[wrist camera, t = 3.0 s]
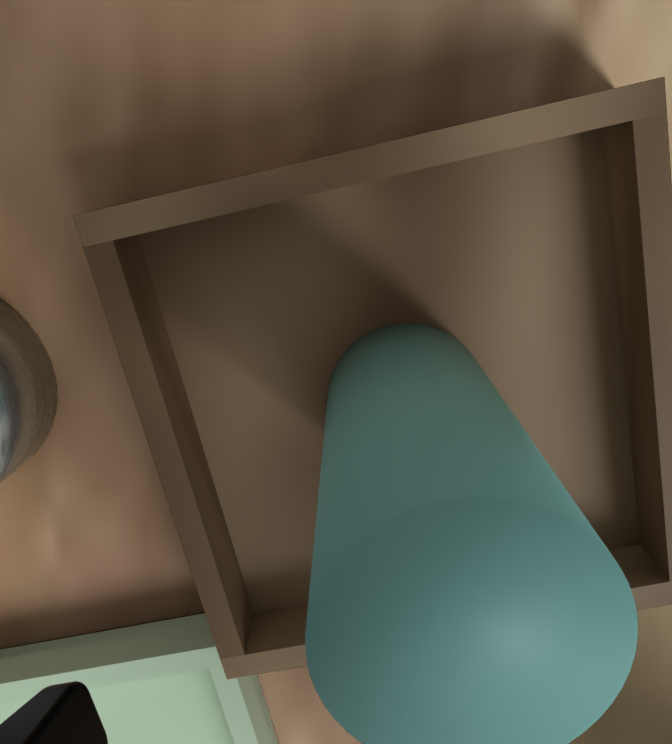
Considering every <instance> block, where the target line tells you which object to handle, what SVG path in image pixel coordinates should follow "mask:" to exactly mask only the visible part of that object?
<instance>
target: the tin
mask: <svg viewBox="0 0 672 744" xmlns="http://www.w3.org/2000/svg"><path fill="white" fill-rule="evenodd" d="M56 408H57V383H56V377H55V372H54V369H53V366H52V362H51V360H50V357H49V355H48V353H47V351H46V348H45V347H44V345H43V343H42V342H41V340H40V338H39V336H38V335H37V334H36V332H35V331H34V330H33V328H32V327H31V326H30V325H29V323H28V322H27V321H26V320H25V319H24V318H23V317H22V316H21V315H20V314H19V313H18V312H17V311H15V310H14V309H13V308H12V307H11V306H9V305H8V304H7V303H5V302H4V301H2V300H1V299H0V483H1V482H2V481H4V480H5V479H6V478H7V477H8V476H9V475H10V474H12V473H13V472H14V471H15V470H16V469H17V468H18V467H19V466H21V465H22V464H23V463H24V462H25V461H26V460H27V459H29V458H30V457H31V456H32V455H33V454H34V453H35V452H36V451H37V450H38V449H39V447H40V446H41V445H42V444H43V442H44V441H45V439H46V437H47V436H48V434H49V432H50V429H51V427H52V425H53V422H54V418H55V414H56Z"/></svg>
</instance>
